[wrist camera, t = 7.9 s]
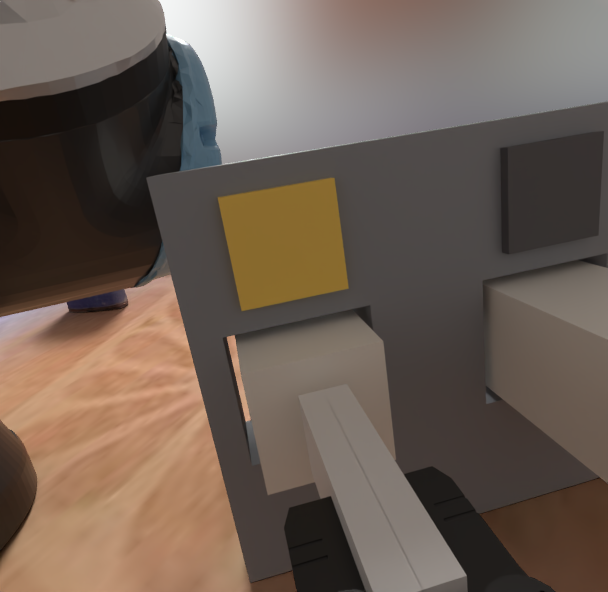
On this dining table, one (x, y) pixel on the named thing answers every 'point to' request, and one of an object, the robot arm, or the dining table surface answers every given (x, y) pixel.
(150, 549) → the dining table surface
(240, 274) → the light board
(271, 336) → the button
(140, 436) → the dining table surface
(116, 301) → the flask
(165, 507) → the dining table surface
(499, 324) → the button mid
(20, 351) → the dining table surface
